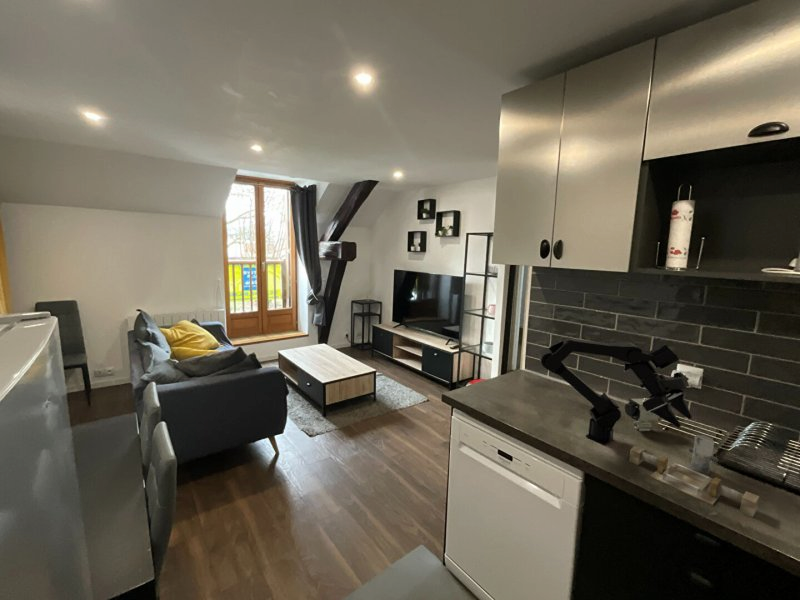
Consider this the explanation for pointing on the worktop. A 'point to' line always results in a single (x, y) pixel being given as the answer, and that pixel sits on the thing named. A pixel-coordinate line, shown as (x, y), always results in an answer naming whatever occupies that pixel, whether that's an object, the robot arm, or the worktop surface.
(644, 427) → the pneumatic valve
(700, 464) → the ujoint coupling
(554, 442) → the worktop surface
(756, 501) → the shaft rig
